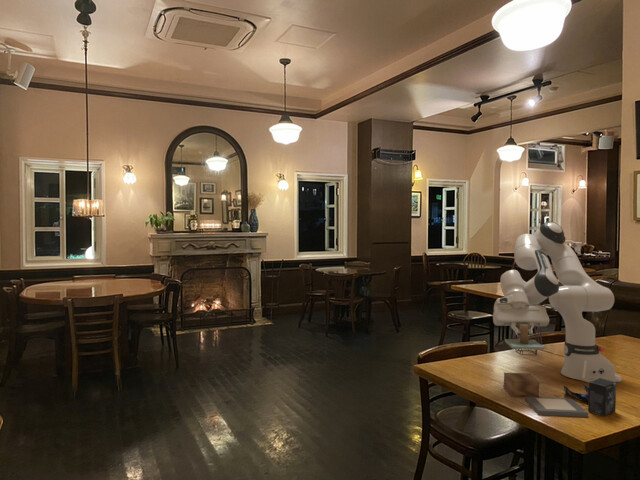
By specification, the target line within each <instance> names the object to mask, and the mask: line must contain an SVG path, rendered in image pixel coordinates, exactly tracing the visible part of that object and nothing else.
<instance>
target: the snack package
mask: <svg viewBox="0 0 640 480" xmlns="http://www.w3.org/2000/svg"><path fill="white" fill-rule="evenodd" d="M582 387H583V390H585V393H584V392H581V393H578V392H574V391H572V390H571V389H570V388H568V387H567V386H566V385H564V386H563V391H564V394H565V395H569V396H571V397H573V398H575V399H577V400H580V401H584V402H585V401H586V402H588V400H589V386H587V385H586V384H584V383H583V384H582Z"/></svg>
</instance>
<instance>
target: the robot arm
mask: <svg viewBox="0 0 640 480" xmlns="http://www.w3.org/2000/svg"><path fill="white" fill-rule="evenodd" d="M513 253H514V256H513V257H514V262H515V264H516V266H518V267H519V268H520V269H522V270H525V271H534V270H537V273H536V274H535V275H534V276H533V277H532V278H530V279H529V280H528V281H525V280H524V279H523V278H522V276H521V273H520V272H519V271H518V270H516V269H510V270H506V271H505V272H504V273H502V274H501V275H500V279H499V280H500V281H499V282H500V287H501V293H502V294H503V297H500V298H497V299H496V300H495V302H494V305H493V313H492V321H493V324H494V326H497V327H498V326H499V327H503V326H504V327H505V326H506V327H507V326H509V327H510V329H511V328H512V331H513V330H514V334H515V333H516V336H519V335H520V334H521V331H520V329H519V326H520V324H527V325H528V336H530V335H531V336H533V334H534V332H533V329H534V328H535V327H534V326H536V327H537V326H538V327H539V326H541V327H547V326H548V325H549V323H550V317H549V315H548V313H547V308H546V307H545V306H543V305H541V304H542V302H544V301H545V300H546V299H548V302H549V304H550V306H551V307H552V308H553V309H554V310H556V311H557V312H558V313H559V315H561V317H562V318H563V321H564V326H565V341H564V345H563V346H564V347H563V351H564V352H563V353H564V359H563V364H562V368H561V371H560V374H562V375H563V376H564V377H567V378H571V379H573V380H579V381H582V382H586V383H589V382H590V381H594V380H596V379H599V378H602V379H605V380H609V381H613V382H616V383H622V381H623V380H622V377H621V376H620V375H619V374H617V373H616V369H615V366H614V364H613V363H612V361H610V360H609V359H608V358H606V357H605V356H604V355H603V354H601V353H604V352H605V350H606V349H605V347H603V346H601V345H600V346H599V345H598V344H597V343H596V327H595V325H594V324H593V323H592V322H591V321H589V320H587V319H585V318H584V317H583V312H596V313H597V312H602V311H603V312H604V311H608V310H609V311H610V310H611V309H612V307H614V304H615V295H614V293H613V291H612V290H611V289H610V288H609V287H606V286H603V285H601V284H600V283H598V282H596V281H595V280H594V279H593V278H592V277H590V276H589V274H587V272H586V270H584V268H583V265H582V264H581V262H580V260H579V257H578V255H577V254H576V252H575V251H574V249H573V248H572V247H571V246H569V245H568V244H566V236H565V232H564V230H563V228H562V226H561V225H560V224H558V223H556V222H554V221H546V222H544V223H542V224H541V225H540V226H539V228H537V229H536V230H535V232H534V233H533V234H531V233H523V234H520V235H519V236H518V237H517V238H516V240H515V243H514V251H513ZM549 258H550V259H549ZM550 260H551V262H550ZM560 284H561V285H560ZM530 328H531V329H530ZM600 352H601V353H600Z"/></svg>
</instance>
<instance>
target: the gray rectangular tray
mask: <svg viewBox="0 0 640 480" xmlns="http://www.w3.org/2000/svg"><path fill="white" fill-rule="evenodd" d="M525 402H526V403H527V404H528V405H529V406H530V407H531V408H532V409H533V410H534V411H535V413H536V414H537V415H538V416H552V417H554V416H556V417H577V418H578V417H579V418H589V411H588V410H585V409H584V408H583V407H582V406H581V405H579V403H577V402H576V400H574V399H572V398H569V397H567V398H566V397H543V396H542V397H525Z"/></svg>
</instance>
